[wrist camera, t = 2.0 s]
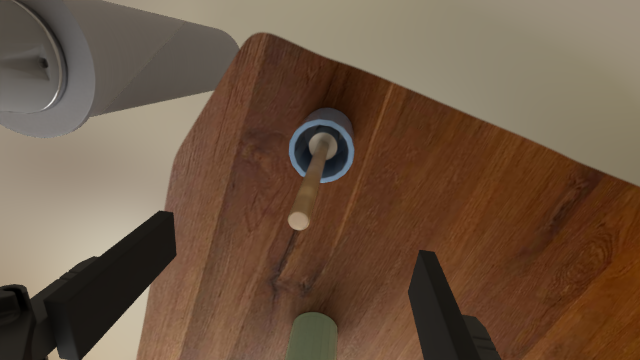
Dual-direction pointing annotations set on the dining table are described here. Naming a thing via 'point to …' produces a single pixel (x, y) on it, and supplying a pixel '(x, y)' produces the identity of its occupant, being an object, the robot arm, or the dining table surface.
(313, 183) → the bottle brush
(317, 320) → the vase
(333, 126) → the cup
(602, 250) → the dining table surface
